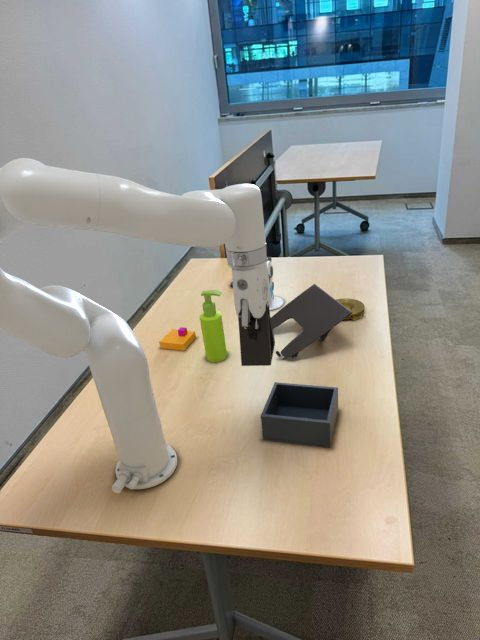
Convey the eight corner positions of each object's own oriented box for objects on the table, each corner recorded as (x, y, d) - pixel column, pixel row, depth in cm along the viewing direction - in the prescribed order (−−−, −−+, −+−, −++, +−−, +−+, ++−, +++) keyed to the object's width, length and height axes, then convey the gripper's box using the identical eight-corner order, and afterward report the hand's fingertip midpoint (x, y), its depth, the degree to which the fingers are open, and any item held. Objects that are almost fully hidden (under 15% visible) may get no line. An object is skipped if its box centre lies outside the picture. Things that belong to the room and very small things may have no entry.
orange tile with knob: (184, 350, 139) (181, 338, 137) (160, 348, 142) (157, 335, 140) (196, 337, 146) (194, 325, 144) (173, 335, 148) (170, 323, 146)
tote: (330, 447, 99) (330, 423, 96) (263, 440, 103) (260, 416, 100) (338, 410, 110) (338, 387, 106) (276, 404, 114) (274, 382, 110)
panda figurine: (281, 311, 156) (277, 268, 149) (247, 311, 158) (242, 269, 151) (285, 296, 166) (282, 255, 159) (253, 296, 168) (249, 256, 161)
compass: (324, 321, 148) (324, 314, 147) (327, 304, 158) (327, 298, 157) (364, 321, 146) (364, 315, 145) (364, 304, 156) (364, 298, 155)
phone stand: (248, 343, 104) (241, 293, 98) (275, 342, 103) (270, 292, 97) (241, 366, 96) (233, 314, 90) (270, 366, 96) (264, 313, 89)
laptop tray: (266, 343, 151) (251, 323, 145) (324, 299, 151) (311, 278, 146) (296, 380, 132) (280, 359, 127) (362, 330, 132) (349, 306, 127)
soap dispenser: (227, 362, 132) (218, 296, 122) (203, 361, 133) (192, 296, 123) (232, 351, 137) (224, 287, 127) (209, 350, 138) (199, 287, 128)
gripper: (255, 271, 81) (265, 362, 90) (276, 240, 94) (283, 322, 104) (213, 271, 83) (228, 360, 92) (239, 240, 96) (249, 321, 105)
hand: (257, 339), depth 98 cm, fingers closed on phone stand, 2 cm apart
